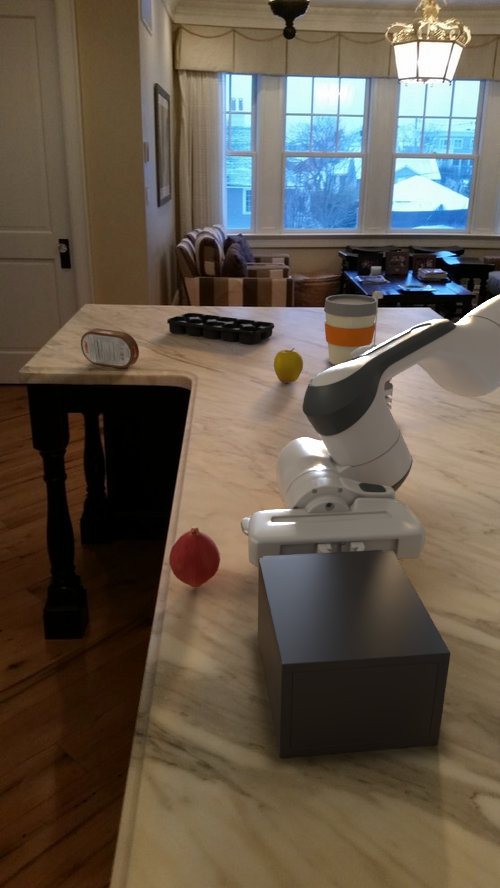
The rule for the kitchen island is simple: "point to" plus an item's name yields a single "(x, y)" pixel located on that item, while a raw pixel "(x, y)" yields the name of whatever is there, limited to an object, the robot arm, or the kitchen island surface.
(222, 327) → the egg carton
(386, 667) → the dark drawer box
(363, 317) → the reusable coffee cup
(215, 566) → the onion
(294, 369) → the apple
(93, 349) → the tin
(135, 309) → the kitchen island surface
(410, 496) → the kitchen island surface
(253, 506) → the kitchen island surface
